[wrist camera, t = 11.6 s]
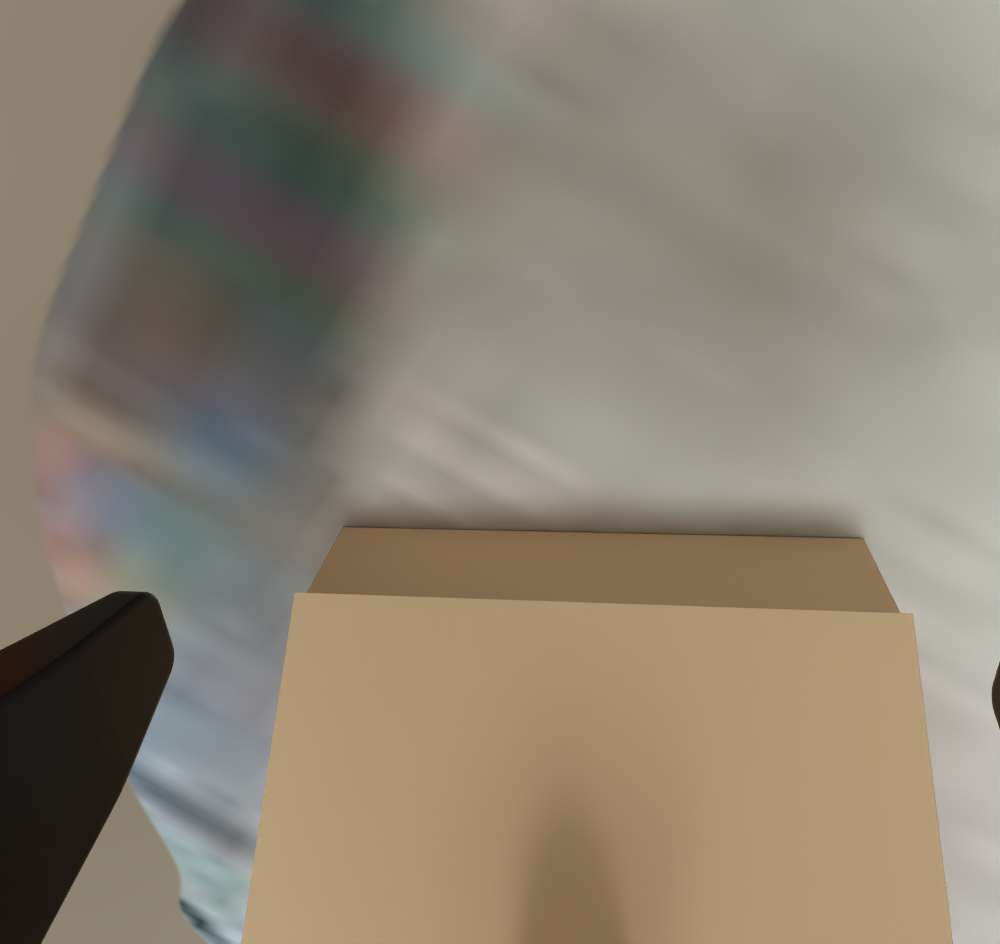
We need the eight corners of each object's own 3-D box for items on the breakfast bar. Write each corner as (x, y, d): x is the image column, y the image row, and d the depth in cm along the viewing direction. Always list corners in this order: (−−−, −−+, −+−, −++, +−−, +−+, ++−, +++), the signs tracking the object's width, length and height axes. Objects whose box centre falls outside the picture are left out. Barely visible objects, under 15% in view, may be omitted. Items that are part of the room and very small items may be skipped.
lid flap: (979, 1264, 15) (1154, 1494, 10) (219, 1157, 17) (68, 1306, 12) (903, 618, 19) (1002, 565, 14) (302, 597, 21) (214, 545, 16)
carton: (808, 827, 28) (832, 925, 25) (391, 797, 30) (365, 884, 27) (863, 538, 22) (903, 618, 19) (343, 527, 24) (303, 597, 21)
